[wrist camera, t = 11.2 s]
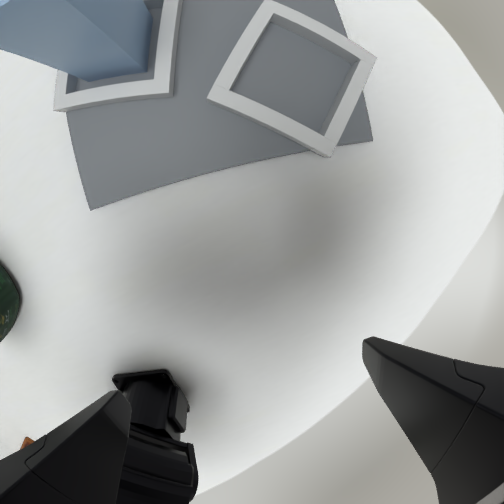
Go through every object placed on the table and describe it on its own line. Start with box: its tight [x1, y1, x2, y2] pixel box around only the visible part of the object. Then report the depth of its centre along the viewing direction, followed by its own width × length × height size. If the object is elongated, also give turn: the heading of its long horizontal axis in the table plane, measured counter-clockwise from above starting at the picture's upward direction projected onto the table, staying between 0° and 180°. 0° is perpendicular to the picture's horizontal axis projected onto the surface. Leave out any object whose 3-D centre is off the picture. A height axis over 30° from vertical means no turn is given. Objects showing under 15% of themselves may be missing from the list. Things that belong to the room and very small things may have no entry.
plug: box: [0, 0, 153, 82], centre depth 8 cm, size 5×4×13 cm
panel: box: [53, 0, 377, 211], centre depth 15 cm, size 22×17×2 cm
